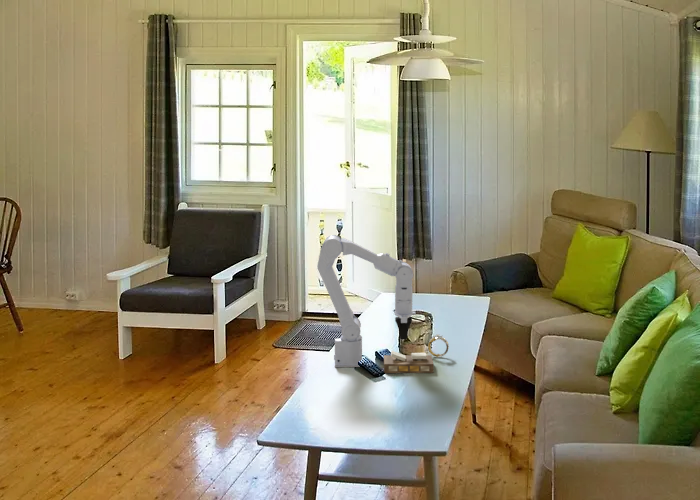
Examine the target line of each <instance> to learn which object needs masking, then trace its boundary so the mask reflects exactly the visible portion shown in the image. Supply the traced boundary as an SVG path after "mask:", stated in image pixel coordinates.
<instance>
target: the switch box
mask: <svg viewBox="0 0 700 500" xmlns="http://www.w3.org/2000/svg"><path fill="white" fill-rule="evenodd" d="M404 355H405V354H404ZM405 356H406V359H405V361H402V360H400V359H397V358H394V357H392V356H391V354H389V355H387V354H385V355H383V368H384V369H383V370H384V374H433V373H434V361H433V355H432V354H429V355H428V354H426V359H412V357H411V354H410V355H408V354H406V355H405Z"/></svg>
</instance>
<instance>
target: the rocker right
mask: <svg viewBox="0 0 700 500" xmlns="http://www.w3.org/2000/svg"><path fill="white" fill-rule="evenodd" d="M410 355H411V357H412V359H426V355H427V353H426V352H411V353H410Z"/></svg>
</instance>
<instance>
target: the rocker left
mask: <svg viewBox="0 0 700 500" xmlns="http://www.w3.org/2000/svg"><path fill="white" fill-rule="evenodd" d="M390 355H391V356H392V357H394V358H397V359H400V360H402V361H405V359H406V356H405V354H402V353H400V352H397V351H394V350H391V352H390Z"/></svg>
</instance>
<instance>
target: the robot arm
mask: <svg viewBox="0 0 700 500" xmlns="http://www.w3.org/2000/svg"><path fill="white" fill-rule="evenodd" d="M341 254H342V256H347V255H353V256H355V257H358V258H360V259H362V260H365V261H367V262H370V263H371V264H373V266H374V268H375V269H376V270H377V271H380V272H382V273H384V274H385V275H386V274H387V275H388V276H391V277H395V279H396V280H395V281H396V282H395V287H394V288H395V289H394V291H395V294H394V297H395V299H394V301H395V302H394V313H393V314H394V315H395V316H396V317H394V319H395V320H394V321H395V323H396V326H397V329H398V333H399V339H400V340H407V338H408V334H409V329H410V326H411V324H412V323H413V317H412V316H416V311H413V285H412V284H413V278H414V272H413V267H411V264H408V263H407V262H405V261H403V260H402V259H399V260H398V259H396V258H394V257H393V256H391V255H390V253H389V252H385V253H383V252H381V253H374V252H373V251H371V250H369V249H367V248H365V247H363V246H361V245H359V244H357V243H355V242H353V241H352V240H349V239H347V238H344V237H340V236H339V235H336V234H332V235H329V236H327V237H326V238H325V239H324V242H323V243H322V245H321V248H320V250H319V255H318V256H319V257H318V262H317V270H318V274H319V275H320V278H321V279H322V281H323V284H324V286H325V289H326V291H327V294H328V296H329V298H330V300H331V303H332V305H333V307H334V309H335V311H336V314H337V317H338V320H339V323H340V326H341V336H340V337H339V338H334V355H333V360H334V367H336V368H344V367H345V368H355V367H356V368H361V367H360V366H359V365H358V362H359V361H361V360H362V359H363V336H362V335H361V327H362V326H361V324H362V323H361V321H360V319H359V318H358V317H357V316H356V315H355V314H354V312H353V310H352V308H351V307H350V304H349V302H348V299H347V297H346V295H345V292H344V290H343V288H342V286H341V284H340V281H339V278H338V276H337V274H336V272H335V270H334V267H333V266H334V264H335V261H336V259H337V258H338V257H339V256H340V255H341Z"/></svg>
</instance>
